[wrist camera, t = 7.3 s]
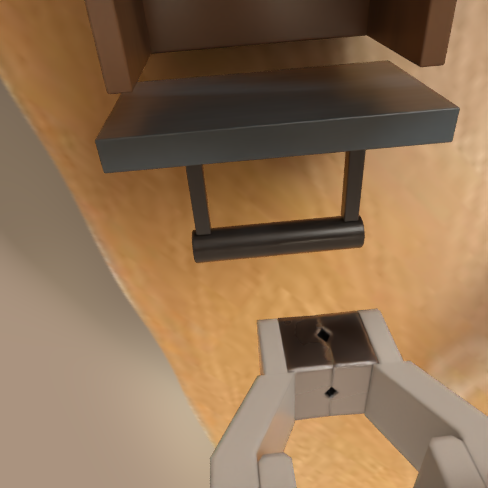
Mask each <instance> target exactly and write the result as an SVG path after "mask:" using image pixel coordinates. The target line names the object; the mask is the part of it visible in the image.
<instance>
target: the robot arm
mask: <svg viewBox="0 0 488 488" xmlns="http://www.w3.org/2000/svg"><path fill="white" fill-rule="evenodd" d="M257 334H258V349H259V362H260V373H261V375H260V376H257V378H256V379H255V381H254V383H253V384H252V386H251V388H250V390H249V391H248V393H247V395H246V397H245V398H244V400H243V402H242V404H241V405H240V407H239V409H238V410H237V412H236V414H235V416H234V417H233V419H232V421H231V423H230V424H229V426H228V428H227V429H226V431H225V433H224V435H223V436H222V438H221V440H220V442H219V443H218V445H217V447H216V449H215V450H214V452H213V454H212V455H211V457H210V488H297V487H296V481H295V475H294V469H293V463H292V458H291V457H289V456H288V455H287V454H285V453H284V452H283V451H284V448H285V446H286V443H287V441H288V438H289V436H290V433H291V431H292V428H293V426H294V423H295V420H301V419H309V418H317V417H324V416H335V415H348V414H362V413H365V416H366V417H367V418H368V419H369V420H370V421H371V422H372V423H373V425H374V426H375V427H376V428H377V429H378V430H379V431H380V432H381V433H382V434H383V435H384V436H385V437H386V438H387V439H388V440H389V441H390V442H391V443H392V444H393V445H394V446H395V448H396V449H397V450H398V451H399V452H400V453H401V454H402V455H403V456H404V457H405V458H406V459H407V460H408V461H409V462H410V463H411V464H412V465H413V466H414V467H415V468H416V470H417V471H418V472H419V473H418V476H417V479H416V482H415V484H414V487H413V488H488V416H486V415H485V414H484V413H482V412H481V411H479V410H478V409H477V408H475V407H474V406H472V405H471V404H470V403H468V402H467V401H465V400H464V399H463V398H461V397H460V396H458V395H457V394H456V393H454V392H453V391H451V390H450V389H449V388H447V387H446V386H444V385H443V384H442V383H440V382H439V381H437V380H436V379H435V378H433V377H432V376H430V375H429V374H428V373H426V372H425V371H424V370H422V369H421V368H419V367H418V366H417V365H415V364H414V363H412V362H411V361H403V359H402V357H401V354H400V352H399V350H398V348H397V346H396V344H395V342H394V340H393V337H392V335H391V333H390V331H389V329H388V327H387V325H386V322H385V320H384V318H383V316H382V314H381V312H380V311H379V310H378V309H369V310H359V311H349V312H339V313H330V314H321V315H315V316H301V317H287V318H278V319H264V320H257Z"/></svg>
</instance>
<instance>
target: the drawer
mask: <svg viewBox="0 0 488 488" xmlns="http://www.w3.org/2000/svg"><path fill="white" fill-rule="evenodd" d="M84 1H85V5H86V9H87V13H88V17H89V21H90V25H91V29H92V33H93V37H94V41H95V46H96V50H97V54H98V58H99V62H100V66H101V70H102V74H103V78H104V82H105V86H106V90H107V93H108V94H118V93H121V95H120V97H119V99H118V100H117V102H116V104H115V106H114V107H113V109H112V111H111V113H110V115H109V116H108V118H107V120H106V122H105V123H104V125H103V127H102V129H101V131H100V132H99V134H98V136H97V138H96V139H95V143H96V146H97V150H98V153H99V157H100V161H101V164H102V168H103V171H104V173H114V172H125V171H136V170H147V169H158V168H169V167H180V166H186V172H187V178H188V185H189V191H190V197H191V204H192V210H193V216H194V223H195V229H196V230H193V231H192V247H193V255H194V260H195V262H196V263H203V262H214V261H224V260H235V259H245V258H256V257H267V256H277V255H288V254H298V253H309V252H319V251H330V250H340V249H351V248H361V247H362V246H363V244H364V238H365V232H364V225H363V221H362V218H361V217H360V215H359V207H360V198H361V189H362V179H363V170H364V160H365V151H366V150H368V149H379V148H390V147H401V146H412V145H423V144H434V143H445V142H452V140H453V136H454V131H455V127H456V123H457V118H458V114H459V110H460V108H459V107H458V106H456V105H455V104H453V103H452V102H450V101H449V100H447V99H446V98H444V97H443V96H441V95H440V94H438V93H437V92H435V91H434V90H432V89H431V88H429V87H428V86H426V85H425V84H423V83H422V82H420V81H419V80H417V79H416V78H414V77H413V76H411V75H410V74H408V73H407V72H405V71H404V70H402V69H401V68H399V67H398V66H396V65H394V64H393V63H391V62H390V61H388V60H387V61H375V62H363V63H352V64H340V65H329V66H317V67H306V68H294V69H283V70H271V71H260V72H248V73H237V74H225V75H214V76H202V77H191V78H179V79H168V80H156V81H145V82H137V81H138V79H139V77H140V75H141V73H142V71H143V69H144V67H145V65H146V63H147V61H148V59H149V57H150V55H151V54H155V53H166V52H178V51H190V50H201V49H213V48H225V47H236V46H248V45H260V44H271V43H283V42H295V41H307V40H318V39H330V38H342V37H353V36H365V35H367V36H369V37H371V38H372V39H374V40H376V41H377V42H379V43H381V44H382V45H384V46H386V47H387V48H389V49H391V50H392V51H394V52H396V53H398V54H399V55H401V56H403V57H404V58H406V59H408V60H409V61H411V62H413V63H414V64H416V65H418V66H419V67H428V66H440V65H444V63H445V58H446V53H447V48H448V43H449V37H450V32H451V27H452V22H453V17H454V12H455V7H456V2H457V0H84ZM335 152H346V154H345V167H344V180H343V193H342V206H341V216H336V217H325V218H314V219H304V220H293V221H282V222H272V223H261V224H250V225H239V226H229V227H218V228H211V222H210V215H209V207H208V200H207V192H206V185H205V177H204V169H203V164H213V163H224V162H235V161H246V160H257V159H268V158H279V157H290V156H301V155H313V154H324V153H335Z"/></svg>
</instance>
